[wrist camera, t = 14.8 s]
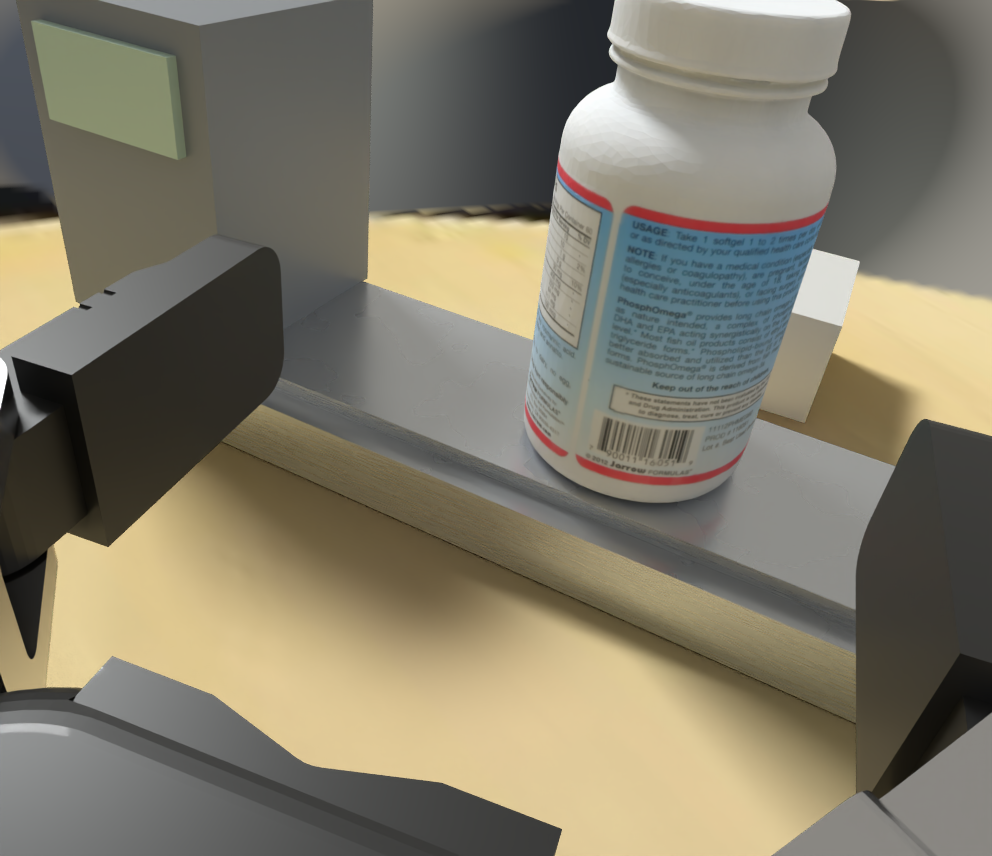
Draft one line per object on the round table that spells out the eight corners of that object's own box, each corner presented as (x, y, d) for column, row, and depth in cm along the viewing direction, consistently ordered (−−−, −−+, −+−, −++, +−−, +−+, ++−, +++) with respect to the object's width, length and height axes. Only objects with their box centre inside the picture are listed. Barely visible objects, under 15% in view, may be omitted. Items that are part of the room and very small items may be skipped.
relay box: (803, 426, 30) (842, 326, 28) (692, 391, 31) (720, 292, 29) (825, 352, 35) (860, 261, 33) (727, 323, 36) (754, 233, 34)
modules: (1431, 865, 16) (1977, 484, 10) (68, 305, 26) (0, -22, 21) (1325, 608, 21) (1649, 274, 16) (231, 231, 32) (210, -43, 27)
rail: (1341, 939, 17) (1435, 875, 16) (77, 376, 28) (62, 307, 26) (1258, 661, 23) (1320, 596, 22) (244, 287, 34) (240, 226, 32)
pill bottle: (771, 436, 25) (926, 7, 18) (679, 548, 20) (839, 42, 14) (589, 356, 27) (668, -45, 21) (474, 442, 23) (528, -29, 16)
